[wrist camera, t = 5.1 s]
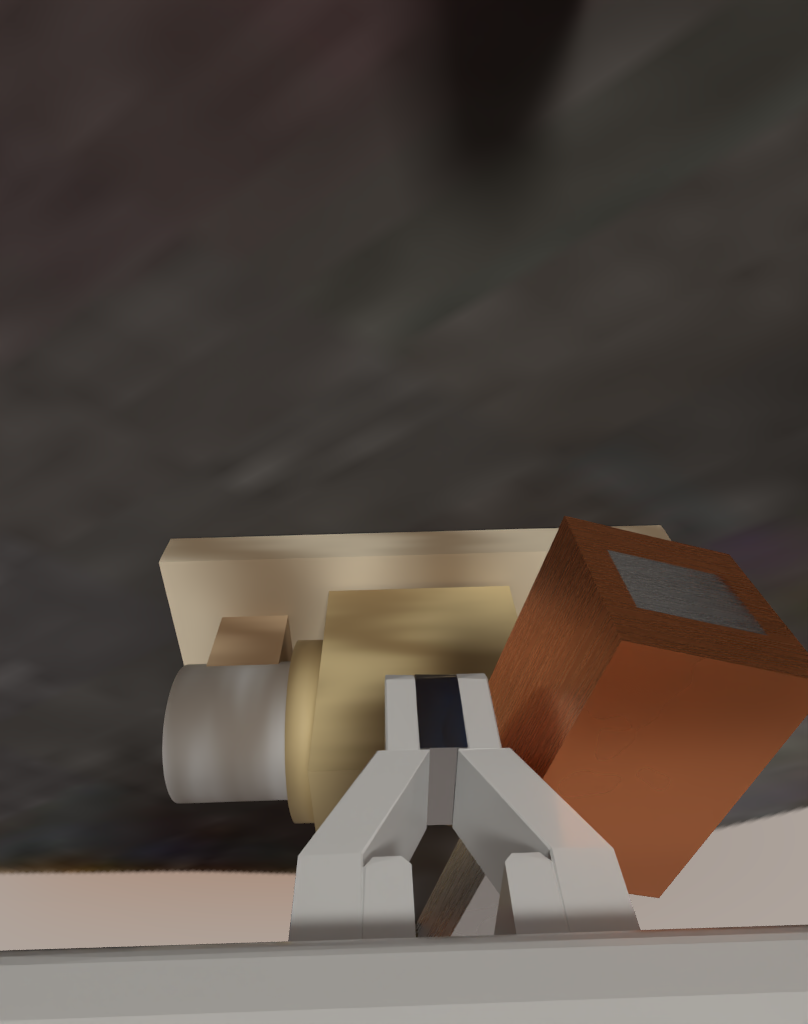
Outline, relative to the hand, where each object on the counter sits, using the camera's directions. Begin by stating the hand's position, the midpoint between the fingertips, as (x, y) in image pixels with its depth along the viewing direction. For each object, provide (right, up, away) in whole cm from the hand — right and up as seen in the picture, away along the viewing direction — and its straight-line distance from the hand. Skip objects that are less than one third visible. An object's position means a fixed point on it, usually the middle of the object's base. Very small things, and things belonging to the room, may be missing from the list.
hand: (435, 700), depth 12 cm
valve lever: (+2, -3, +3) cm, 4 cm away
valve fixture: (0, -1, +15) cm, 15 cm away
